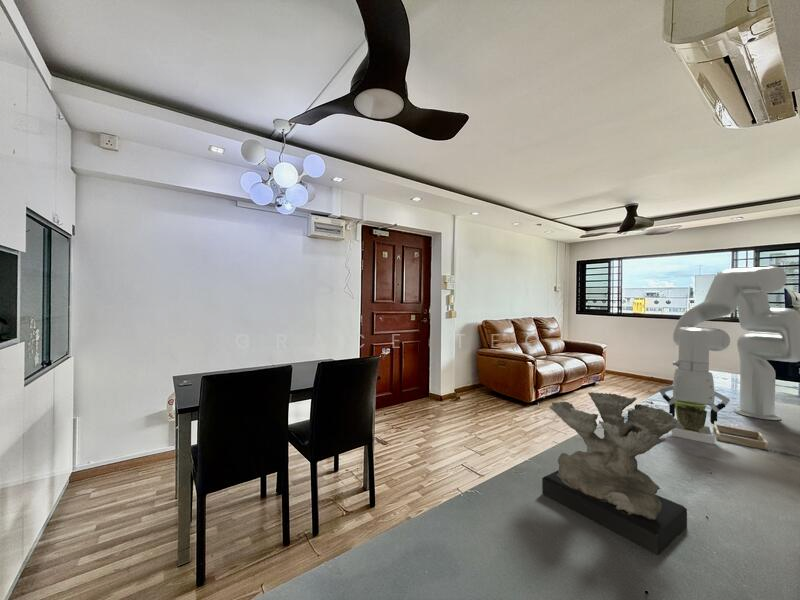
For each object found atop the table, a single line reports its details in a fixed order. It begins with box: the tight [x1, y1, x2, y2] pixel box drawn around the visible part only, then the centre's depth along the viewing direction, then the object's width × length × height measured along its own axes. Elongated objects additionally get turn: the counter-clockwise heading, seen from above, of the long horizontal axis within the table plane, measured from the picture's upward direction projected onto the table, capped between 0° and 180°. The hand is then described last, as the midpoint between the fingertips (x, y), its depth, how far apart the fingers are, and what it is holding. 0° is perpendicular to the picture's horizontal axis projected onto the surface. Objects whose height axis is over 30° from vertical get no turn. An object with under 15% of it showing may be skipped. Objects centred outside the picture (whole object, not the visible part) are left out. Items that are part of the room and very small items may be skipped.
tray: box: [671, 421, 716, 445], centre depth 110 cm, size 10×10×2 cm
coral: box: [541, 391, 688, 556], centre depth 72 cm, size 25×20×22 cm
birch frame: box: [712, 423, 769, 451], centre depth 108 cm, size 11×11×2 cm
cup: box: [677, 405, 708, 432], centre depth 111 cm, size 8×7×8 cm
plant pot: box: [674, 400, 708, 421], centre depth 118 cm, size 9×9×9 cm
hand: (692, 419), depth 110 cm, fingers open, 9 cm apart
